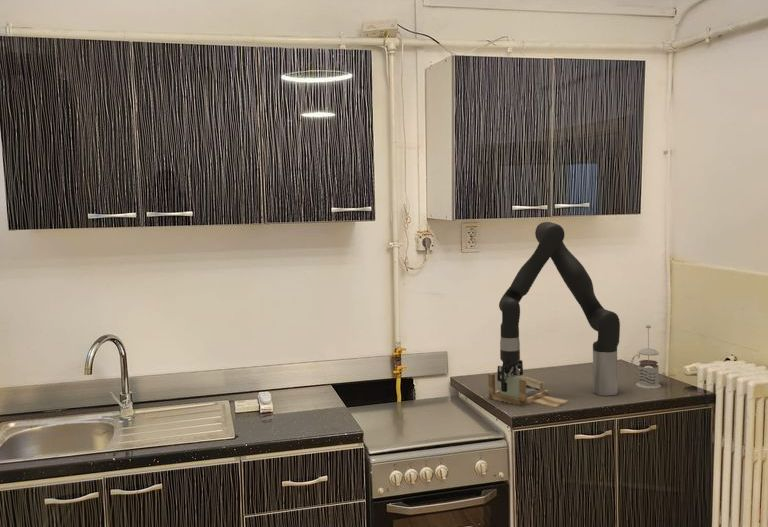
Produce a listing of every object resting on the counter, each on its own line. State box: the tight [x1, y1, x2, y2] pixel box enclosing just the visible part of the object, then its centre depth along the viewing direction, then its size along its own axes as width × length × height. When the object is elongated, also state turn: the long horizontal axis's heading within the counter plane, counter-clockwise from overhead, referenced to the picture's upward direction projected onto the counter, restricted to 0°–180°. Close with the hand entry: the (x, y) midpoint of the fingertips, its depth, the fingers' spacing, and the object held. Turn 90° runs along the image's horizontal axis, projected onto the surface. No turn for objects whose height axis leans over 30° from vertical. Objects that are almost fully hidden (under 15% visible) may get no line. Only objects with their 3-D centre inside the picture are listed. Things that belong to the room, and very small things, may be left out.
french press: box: [630, 324, 662, 389], centre depth 286 cm, size 10×12×25 cm
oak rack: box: [487, 372, 550, 407], centre depth 276 cm, size 18×16×10 cm
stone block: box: [526, 384, 541, 398], centre depth 280 cm, size 12×5×10 cm
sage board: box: [498, 374, 523, 399], centre depth 272 cm, size 3×9×10 cm, turn 46°
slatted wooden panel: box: [532, 395, 569, 408], centre depth 268 cm, size 9×10×1 cm
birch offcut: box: [521, 375, 545, 390], centre depth 280 cm, size 6×8×2 cm
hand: (510, 389), depth 272 cm, fingers open, 8 cm apart
